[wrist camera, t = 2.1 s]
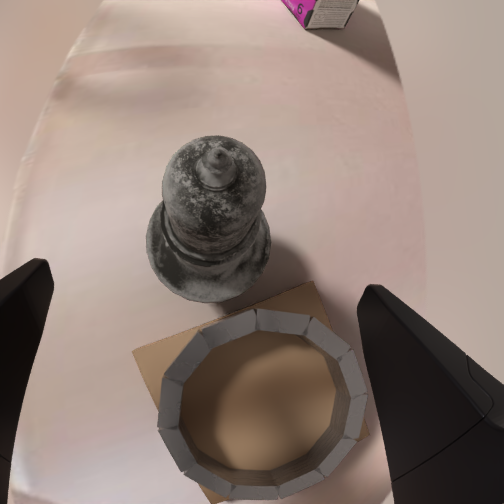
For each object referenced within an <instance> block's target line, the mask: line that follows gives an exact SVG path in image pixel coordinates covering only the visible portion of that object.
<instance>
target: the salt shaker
mask: <svg viewBox="0 0 504 504" xmlns="http://www.w3.org/2000/svg"><path fill="white" fill-rule="evenodd" d="M265 193H266V179H265V172H264V169H263V167H262V164H261V162H260V160H259V159H258V157H257V156H256V155H255V153H254V152H253V151H252V150H251V149H250V148H248V147H247V146H246V145H245V144H243V143H242V142H239V141H237V140H235V139H233V138H229V137H224V136H205V137H201V138H198V139H194V140H192V141H191V142H189V143H187V144H185V145H184V146H182V147H181V148H180V149H179V150H178V151H177V152H176V153H175V154H174V155H173V156H172V158H171V160H170V161H169V163H168V165H167V167H166V170H165V174H164V177H163V181H162V197H163V201H162V202H161V203H160V204H159V205H158V206H157V208H156V209H155V211H154V213H153V215H152V217H151V219H150V221H149V225H148V230H147V234H146V248H147V255H148V258H149V261H150V264H151V267H152V269H153V271H154V272H155V274H156V275H157V277H158V278H159V280H160V281H161V282H162V283H163V284H164V285H165V286H166V287H167V288H169V289H170V290H171V291H172V292H173V293H175V294H177V295H179V296H181V297H183V298H185V299H187V300H191V301H196V302H201V303H214V302H223V301H226V300H228V299H231V298H234V297H237V296H239V295H240V294H242V293H243V292H244V291H246V290H247V289H249V288H250V287H251V286H252V285H253V284H254V283H255V282H256V280H257V279H258V278H259V277H260V275H261V274H262V273H263V270H264V268H265V266H266V263H267V261H268V259H269V253H270V246H271V239H270V230H269V225H268V223H267V220H266V218H265V215H264V213H263V211H262V210H261V207H262V205H263V203H264V200H265Z"/></svg>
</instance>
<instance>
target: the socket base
mask: <svg viewBox="0 0 504 504" xmlns="http://www.w3.org/2000/svg"><path fill="white" fill-rule="evenodd" d="M350 347H351V346H350V345H349V344H348V343H346V342H345V341H344V340H342V339H341V338H340V337H339V336H337V335H336V334H335V333H334V332H333V330H332V328H331V325H330V322H329V320H328V317H327V314H326V312H325V309H324V307H323V304H322V302H321V299H320V296H319V294H318V291H317V289H316V286H315V284H314V281H310V282H307V283H304V284H302V285H300V286H297V287H295V288H293V289H290V290H288V291H285V292H283V293H281V294H278V295H276V296H273V297H271V298H268V299H266V300H264V301H261V302H259V303H256V304H254V305H251V306H249V307H246V308H244V309H241V310H239V311H236V312H234V313H231V314H229V315H226V316H223V317H221V318H218V319H216V320H213V321H211V322H208V323H205V324H203V325H200V326H197V327H195V328H192V329H189V330H187V331H184V332H181V333H179V334H176V335H173V336H171V337H168V338H165V339H162V340H160V341H157V342H154V343H151V344H148V345H146V346H143V347H140V348H137V349H135V350H133V351H132V353H133V356H134V358H135V360H136V363H137V365H138V368H139V370H140V372H141V375H142V377H143V379H144V381H145V384H146V386H147V388H148V390H149V392H150V395H151V397H152V399H153V401H154V403H155V405H156V407H157V409H158V411H159V413H158V425H157V427H159V430H158V432H159V433H160V435H161V437H162V439H163V441H164V443H165V445H166V447H167V448H168V450H169V452H170V454H171V456H172V457H173V459H174V461H175V463H176V464H177V466H178V468H179V469H180V471H181V472H183V471H184V475H185V476H187V477H188V478H190V479H192V480H194V481H195V482H197V483H198V484H199V486H200V488H201V489H202V491H203V492H204V494H205V495H206V497H207V499H208V500H209V502H210V503H211V504H216V503H219V502H223V501H226V500H229V499H244V500H277V499H278V495H279V496H280V498H281V499H282V498H285V497H287V496H290V495H292V494H294V493H296V492H299V491H301V490H303V489H305V488H308V487H310V486H312V485H314V484H316V483H318V482H320V481H322V480H324V477H323V475H324V476H326V477H328V476H329V475H330V474H331V473H332V471H333V470H334V469H335V468H336V467H337V466H338V464H339V463H340V462H341V461H342V460H343V458H344V457H345V456H346V455H347V454H348V452H349V451H350V450H351V449H352V447H353V446H354V445H355V444H356V443H357V442H358V441H360V440H362V439H363V438H365V437H367V436H368V435H370V434H369V431H368V428H367V425H366V422H365V419H364V412H365V407H366V402H367V397H368V395H367V394H365V392H367V388H366V385H365V382H364V379H363V376H362V373H361V370H360V367H359V364H358V362H357V359H356V356H355V353H354V350H353V349H350Z"/></svg>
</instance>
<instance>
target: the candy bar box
mask: <svg viewBox="0 0 504 504" xmlns="http://www.w3.org/2000/svg"><path fill="white" fill-rule="evenodd" d="M281 1H282V2H283V3H284V4H285V5H286V6H287V8H288V9H289V10H290V11H291V12H292V14H293V15H294V16H295V17H296V19H297V20H298V21H299V22H300V24H301V25H302V26H303V28H304V29H343V28H345V26H346V24H347V22H348V20H349V18H350V17H351V15H352V13H353V11H354V9H355V8H356V6H357V4H358V2H359V0H281Z"/></svg>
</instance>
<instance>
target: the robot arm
mask: <svg viewBox="0 0 504 504" xmlns="http://www.w3.org/2000/svg"><path fill="white" fill-rule="evenodd" d="M53 291H54V281H53V277H52V274H51V270H50V267H49V263H48V261H47V260H45V259H40V258H34V259H32V260H30V261H29V262H27V263H25V264H24V265H22V266H21V267H19V268H17V269H16V270H14V271H13V272H11V273H10V274H8V275H7V276H5V277H4V278H2V279H1V280H0V504H7V499H8V488H9V478H10V470H11V461H12V454H13V448H14V442H15V437H16V431H17V426H18V421H19V417H20V412H21V408H22V403H23V399H24V395H25V391H26V387H27V384H28V380H29V376H30V373H31V369H32V366H33V363H34V359H35V356H36V353H37V350H38V347H39V344H40V340H41V337H42V334H43V330H44V326H45V322H46V317H47V313H48V310H49V306H50V302H51V298H52V295H53ZM357 316H358V322H359V328H360V334H361V340H362V347H363V353H364V358H365V362H366V366H367V370H368V374H369V378H370V382H371V386H372V391H373V395H374V399H375V403H376V408H377V412H378V417H379V421H380V426H381V431H382V435H383V440H384V445H385V450H386V456H387V461H388V466H389V472H390V478H391V485H392V491H393V497H394V504H504V385H503V384H502V383H501V382H500V381H498V380H497V379H495V378H494V377H493V376H492V375H491V374H489V373H488V372H487V371H486V370H484V369H483V368H482V367H481V366H480V365H478V364H477V363H476V362H475V361H474V360H473V359H472V358H470V357H469V356H468V355H466V354H465V352H463V351H462V350H461V349H460V348H459V347H457V346H456V345H455V344H454V343H453V342H451V341H450V340H449V339H448V338H447V337H446V336H444V335H443V334H442V333H441V332H440V331H438V330H437V329H436V328H435V327H433V326H432V325H431V324H430V323H429V322H427V321H426V320H425V319H424V318H423V317H421V316H420V315H419V314H418V313H416V312H415V311H414V310H413V309H411V308H410V307H409V306H408V305H406V304H405V303H404V302H403V301H401V300H400V299H399V298H398V297H396V296H395V295H394V294H392V293H391V292H390V291H389V290H387V289H386V288H385V287H384V286H382V285H378V284H370V285H368V286H367V287H366V288H365V291H364V293H363V295H362V297H361V299H360V301H359V303H358V306H357Z"/></svg>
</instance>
